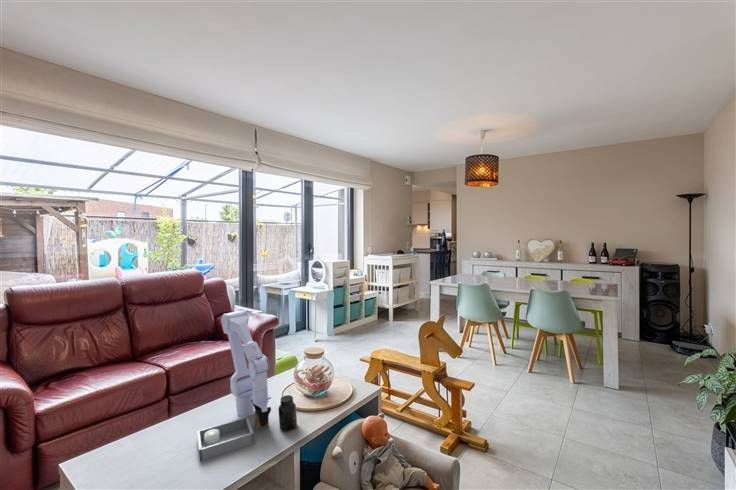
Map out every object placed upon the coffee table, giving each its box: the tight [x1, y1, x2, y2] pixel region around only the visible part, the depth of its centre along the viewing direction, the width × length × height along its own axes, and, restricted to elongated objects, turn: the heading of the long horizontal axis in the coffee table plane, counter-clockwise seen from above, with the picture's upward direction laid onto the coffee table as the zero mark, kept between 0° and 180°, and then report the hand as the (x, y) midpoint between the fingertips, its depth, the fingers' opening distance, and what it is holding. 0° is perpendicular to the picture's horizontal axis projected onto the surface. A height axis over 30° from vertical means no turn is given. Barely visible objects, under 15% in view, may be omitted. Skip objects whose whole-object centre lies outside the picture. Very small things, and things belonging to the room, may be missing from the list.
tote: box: [196, 416, 255, 462], centre depth 127 cm, size 13×18×4 cm
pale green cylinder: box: [204, 429, 220, 447], centre depth 124 cm, size 5×5×5 cm
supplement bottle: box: [277, 394, 298, 432], centre depth 136 cm, size 7×7×12 cm
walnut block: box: [253, 411, 270, 431], centre depth 137 cm, size 4×4×6 cm
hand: (261, 421), depth 137 cm, fingers open, 7 cm apart
